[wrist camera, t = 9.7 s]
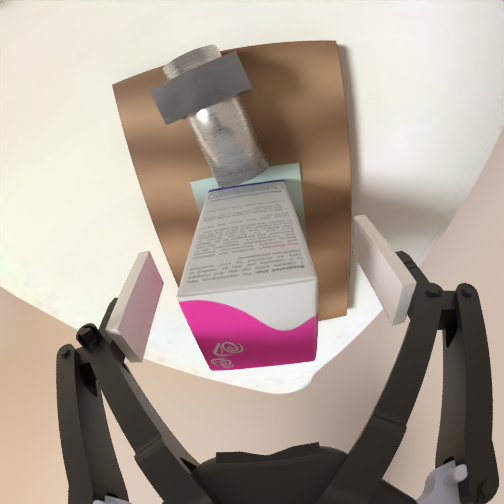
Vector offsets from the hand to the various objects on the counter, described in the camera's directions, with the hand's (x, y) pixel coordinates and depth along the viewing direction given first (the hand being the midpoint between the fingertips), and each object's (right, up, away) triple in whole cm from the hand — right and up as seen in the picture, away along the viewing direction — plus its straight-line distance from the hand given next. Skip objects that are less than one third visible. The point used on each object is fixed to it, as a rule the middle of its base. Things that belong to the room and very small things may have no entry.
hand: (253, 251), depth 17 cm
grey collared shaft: (-2, +9, 0) cm, 10 cm away
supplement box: (0, +3, +4) cm, 5 cm away
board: (0, +3, +5) cm, 6 cm away
